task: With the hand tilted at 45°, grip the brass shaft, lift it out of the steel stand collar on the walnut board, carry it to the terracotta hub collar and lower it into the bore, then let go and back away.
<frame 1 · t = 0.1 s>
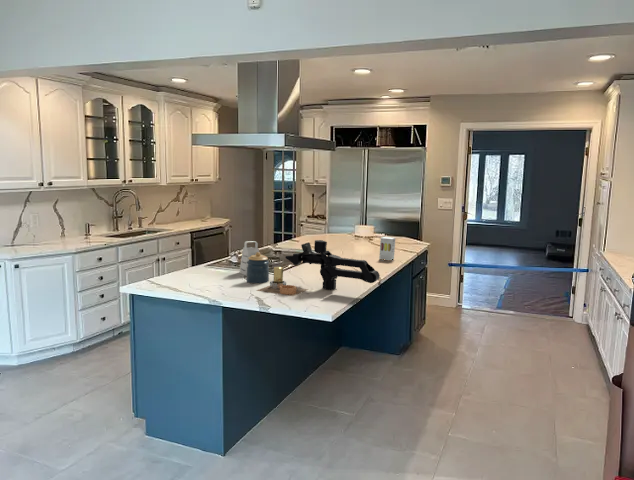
hand: (289, 255, 290), 17 cm above the countertop, tool horizontal, fingers open, 9 cm apart
grater: (250, 273, 319), on the countertop
terracotta hub collar: (288, 292, 270), resting on walnut board
supplement box: (386, 260, 387), on the countertop
walnut board: (282, 291, 275), on the countertop
steel stand collar: (278, 284, 280), on the walnut board, point 2 cm above the countertop
canister: (257, 282, 295), on the countertop
brass shaft: (278, 277, 280), in the steel stand collar, point 6 cm above the countertop, touching walnut board
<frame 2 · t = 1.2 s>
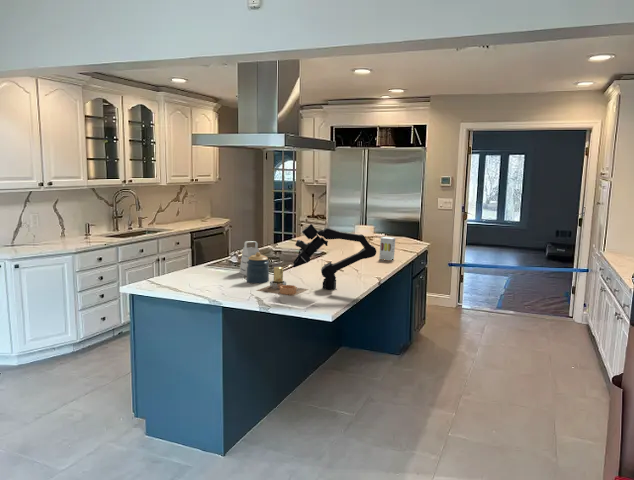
hand: (293, 265, 279), 14 cm above the countertop, tool tilted 45°, fingers open, 9 cm apart
nothing on the countertop moved.
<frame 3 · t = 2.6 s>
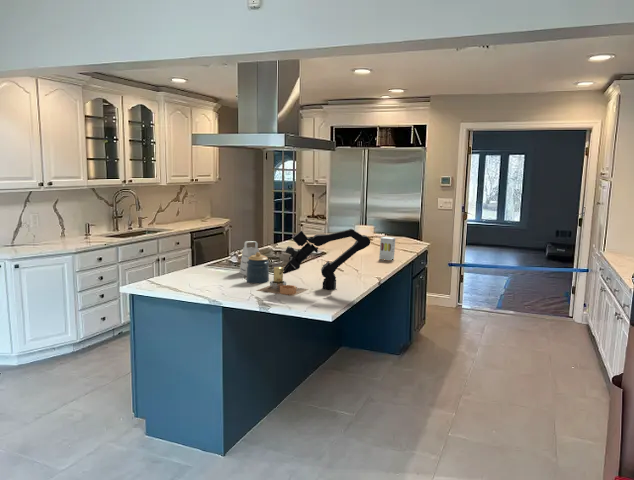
hand: (283, 271, 279), 10 cm above the countertop, tool tilted 45°, fingers open, 9 cm apart
nothing on the countertop moved.
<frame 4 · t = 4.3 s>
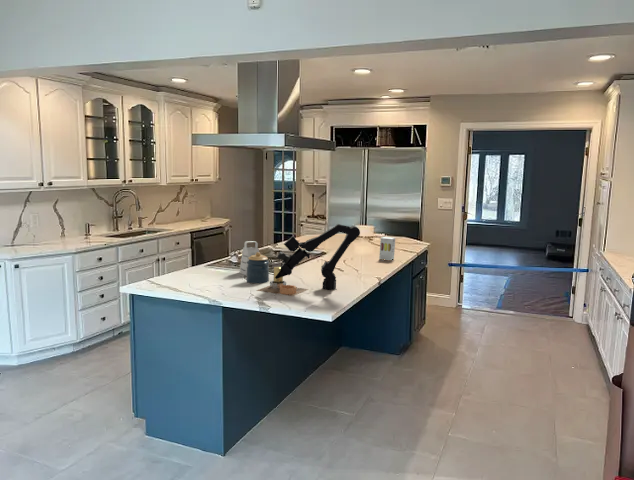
hand: (275, 277, 280), 7 cm above the countertop, tool tilted 45°, fingers closed on brass shaft, 5 cm apart
brass shaft: (278, 277, 280), in the steel stand collar, point 6 cm above the countertop, touching gripper, walnut board
everything else where it was.
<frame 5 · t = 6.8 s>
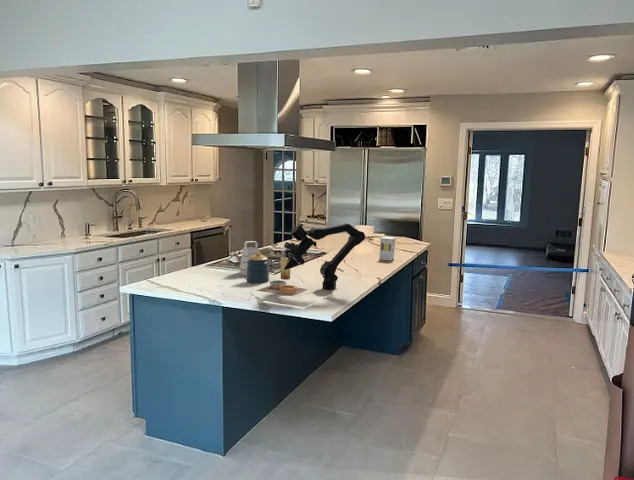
hand: (283, 268, 270), 13 cm above the countertop, tool tilted 45°, fingers closed on brass shaft, 5 cm apart
brass shaft: (285, 268, 270), point 13 cm above the countertop, touching gripper
everything else where it was.
when the fingers open (7 cm above the countertop, at t = 9.3 s): brass shaft stays where it is, resting on walnut board.
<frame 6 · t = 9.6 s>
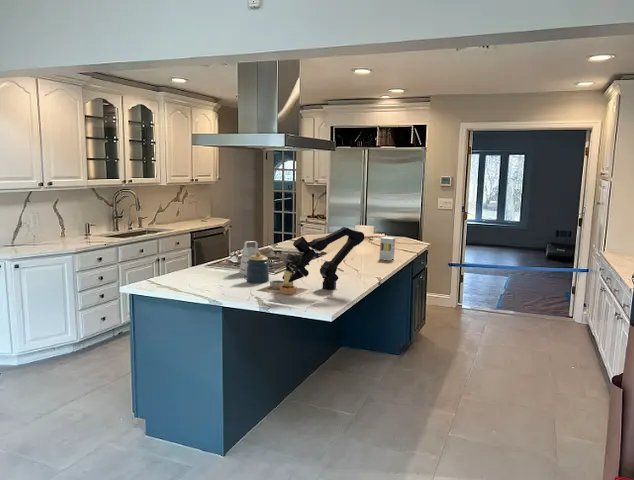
hand: (285, 280, 268), 8 cm above the countertop, tool tilted 45°, fingers open, 8 cm apart
brass shaft: (288, 282, 269), in the terracotta hub collar, point 6 cm above the countertop, touching walnut board
everything else where it was.
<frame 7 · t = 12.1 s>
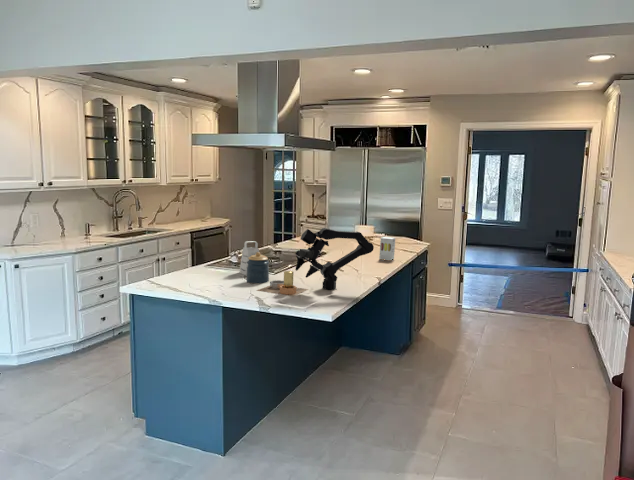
hand: (301, 273, 276), 10 cm above the countertop, tool tilted 30°, fingers open, 9 cm apart
nothing on the countertop moved.
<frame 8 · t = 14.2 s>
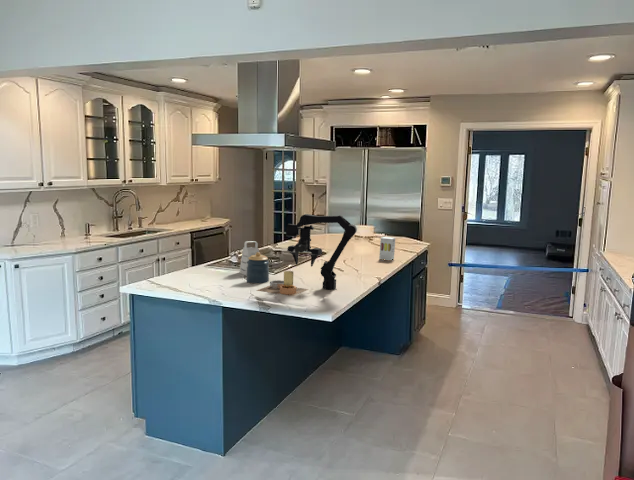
hand: (304, 265, 282), 13 cm above the countertop, tool pointing down, fingers open, 9 cm apart
nothing on the countertop moved.
at the end: brass shaft 0.1 cm off-centre on the terracotta hub collar, point 5.5 cm above the terracotta hub collar's base; brass shaft tilted 0°; the gripper is holding nothing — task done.
